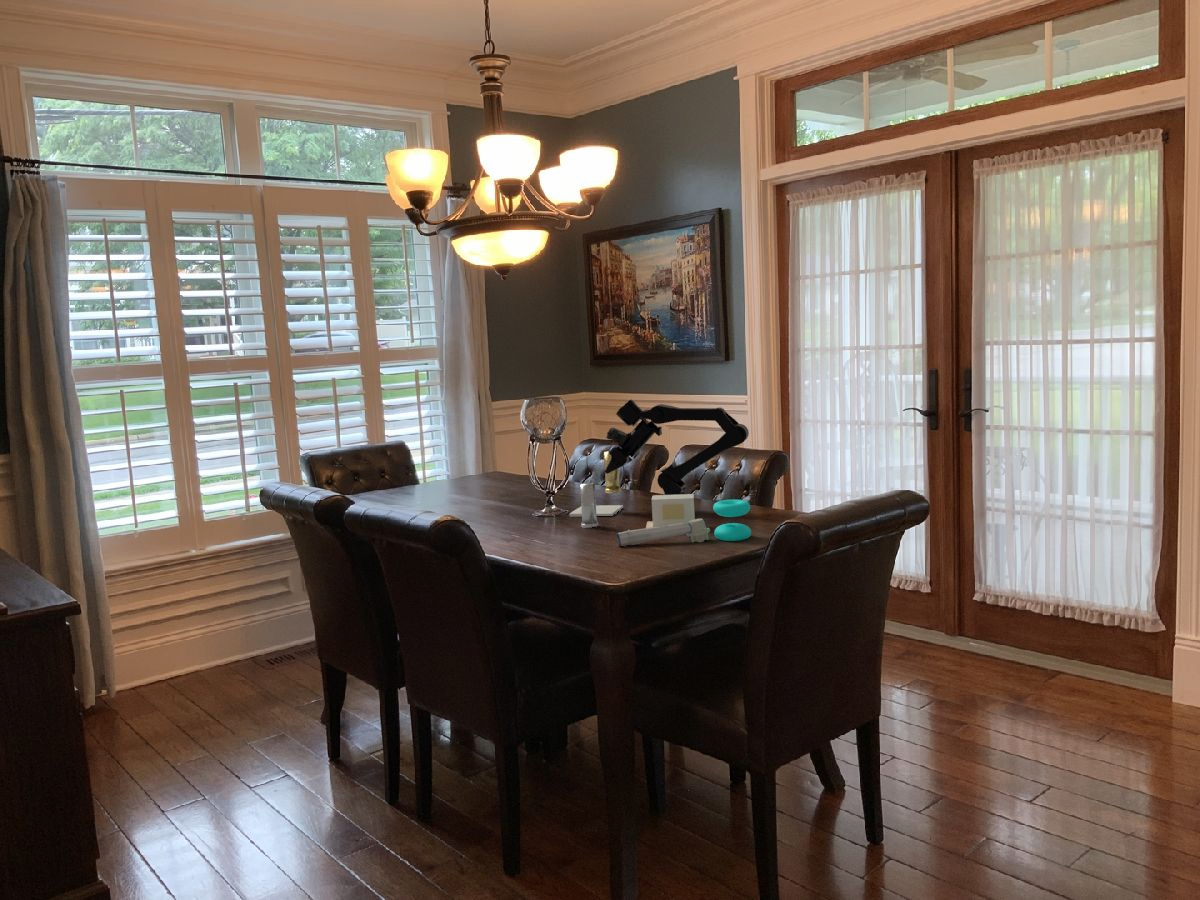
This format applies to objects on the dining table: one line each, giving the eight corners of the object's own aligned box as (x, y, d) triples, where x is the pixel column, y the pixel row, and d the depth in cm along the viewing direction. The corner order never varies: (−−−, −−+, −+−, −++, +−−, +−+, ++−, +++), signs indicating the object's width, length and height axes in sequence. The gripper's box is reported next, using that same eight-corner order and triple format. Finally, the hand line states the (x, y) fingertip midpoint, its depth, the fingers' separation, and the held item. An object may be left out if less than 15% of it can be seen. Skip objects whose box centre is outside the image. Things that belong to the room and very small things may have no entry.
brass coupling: (622, 492, 304) (620, 451, 302) (606, 493, 303) (604, 453, 301) (619, 489, 309) (616, 450, 307) (603, 491, 308) (601, 451, 306)
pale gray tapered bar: (615, 530, 260) (705, 512, 261) (620, 554, 261) (709, 536, 262) (616, 534, 255) (708, 516, 256) (621, 558, 256) (712, 540, 257)
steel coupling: (602, 526, 286) (599, 483, 285) (589, 529, 283) (587, 485, 281) (590, 524, 290) (587, 481, 288) (577, 527, 286) (575, 484, 285)
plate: (623, 508, 313) (622, 505, 313) (612, 516, 300) (611, 513, 300) (582, 508, 317) (582, 505, 317) (569, 516, 303) (569, 513, 303)
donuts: (745, 505, 253) (708, 505, 256) (746, 542, 254) (710, 541, 258) (753, 498, 262) (718, 498, 266) (755, 534, 263) (720, 533, 267)
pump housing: (647, 524, 285) (646, 493, 284) (701, 522, 283) (700, 491, 282) (645, 532, 273) (644, 500, 272) (702, 530, 272) (700, 498, 271)
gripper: (628, 416, 311) (597, 450, 315) (613, 422, 293) (581, 458, 297) (652, 439, 310) (621, 473, 314) (639, 446, 292) (607, 483, 296)
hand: (607, 471), depth 305 cm, fingers closed on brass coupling, 4 cm apart
